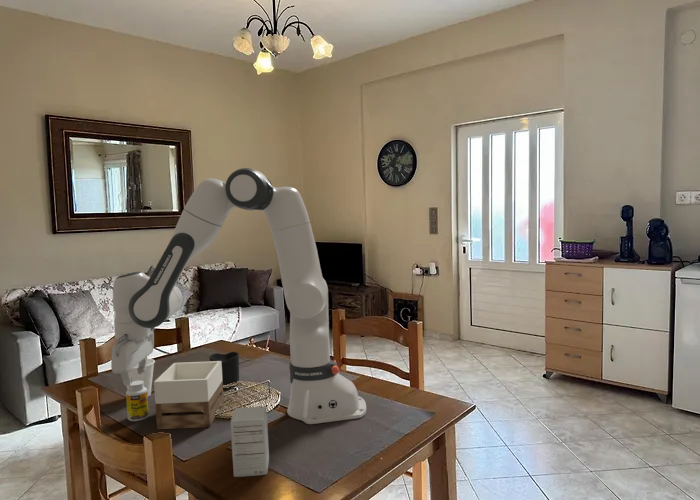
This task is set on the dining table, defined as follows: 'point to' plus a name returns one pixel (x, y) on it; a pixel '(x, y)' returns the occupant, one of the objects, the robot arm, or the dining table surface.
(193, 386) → the upper crate
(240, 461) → the supplement box
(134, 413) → the supplement bottle
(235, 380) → the pen holder
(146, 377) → the cup
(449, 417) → the dining table surface
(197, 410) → the lower crate
